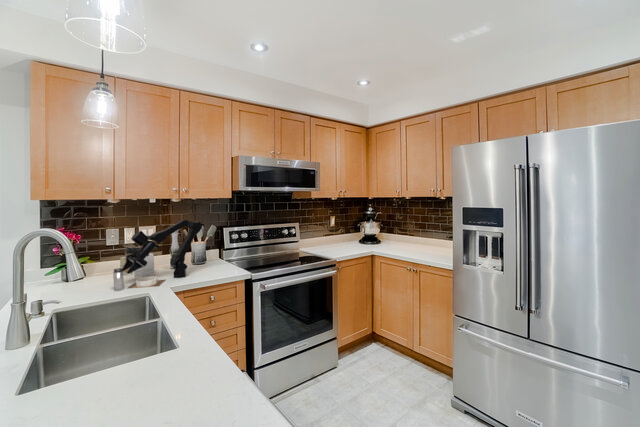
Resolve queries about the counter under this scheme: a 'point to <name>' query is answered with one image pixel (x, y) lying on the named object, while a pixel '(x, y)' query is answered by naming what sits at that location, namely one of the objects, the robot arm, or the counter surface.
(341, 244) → the counter surface
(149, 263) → the supplement box
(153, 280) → the ceramic ring
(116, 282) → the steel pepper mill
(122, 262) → the skincare box
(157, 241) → the robot arm
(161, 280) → the walnut board
